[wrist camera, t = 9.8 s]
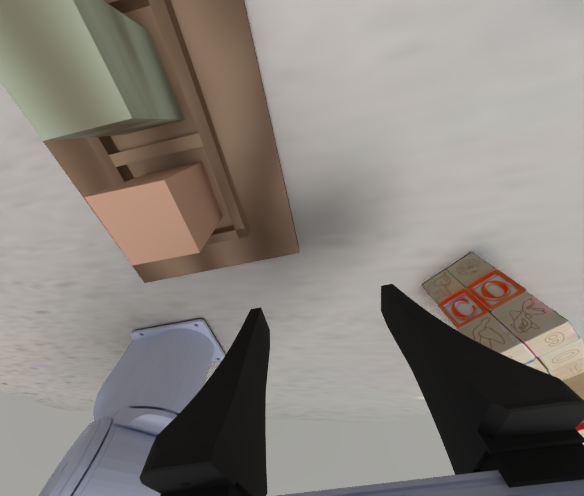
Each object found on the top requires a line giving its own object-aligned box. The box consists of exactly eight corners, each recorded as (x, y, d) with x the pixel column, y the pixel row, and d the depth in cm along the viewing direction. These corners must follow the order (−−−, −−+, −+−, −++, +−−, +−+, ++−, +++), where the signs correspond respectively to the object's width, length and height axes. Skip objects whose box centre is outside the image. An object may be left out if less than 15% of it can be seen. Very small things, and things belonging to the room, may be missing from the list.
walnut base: (149, 276, 23) (101, 332, 17) (-67, -38, 12) (-446, -212, 6) (298, 247, 22) (305, 295, 15) (214, -132, 10) (123, -476, 4)
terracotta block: (173, 226, 19) (132, 265, 14) (146, 173, 17) (84, 197, 11) (222, 216, 19) (199, 252, 13) (201, 161, 16) (164, 180, 11)
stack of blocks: (418, 284, 25) (519, 405, 14) (470, 249, 23) (636, 361, 12) (491, 356, 33) (591, 468, 22) (535, 335, 31) (670, 448, 20)
